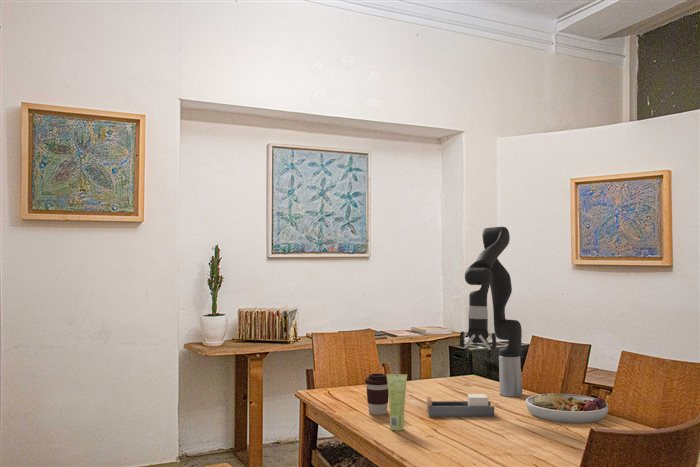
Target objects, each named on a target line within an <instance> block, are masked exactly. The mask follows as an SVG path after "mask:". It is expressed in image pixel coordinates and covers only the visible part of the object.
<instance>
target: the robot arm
mask: <svg viewBox="0 0 700 467" xmlns="http://www.w3.org/2000/svg"><path fill="white" fill-rule="evenodd" d="M510 237H511V236H510V232H509V229H508V228H507V227H506V226H493V227H485V228H484V229H483V230H482V243H483V244H482V245H483V248H484V249H483V250H482V251H481V252H480V253H479V255H478V257H477V258H476V260H475V261H474V262H473V263H472V264H470V265H469V266H468V267H467V269H466V271H465V272H464V280H465V282H466V284H468V285H470V286H480V288H479V289H478V290H473V291H470V292H469V297H468V300H469V302H468V303H469V304H468V305H469V306H468V307H469V308H468V330H467V331H463V330H462V331H460V333H459V347H462V348H463V349H464V350H463V351H464V353H463V354H464V357H465V359H469V355H470V354H469V353H470V352H469V351H470V349H469V346H470V345H471V344H472V343H473V344H483V345H484V346H485V347H486V348H487V351H486V352H487V356H486V358H487V359H486V360H491V359H492V356H493V355H492V354H493V350H495V349H496V348H497V340H498V339H499V340H502V341H508V342H507V343H508V344H507V345H506V346H504V347H501V348H499V350H498V369H499V370H498V371H499V372H498V373H499V374H498V375H499V378H498V379H499V395H501V396H504V397H510V398H512V397H514V398H515V397H523V374H522V372H521V368H522V367H521V351H522V338H523V337H522V332H523V331H522V325H521V323H520V321H518V320H516V319H506V306H507V303H508V302H509V300H510V298H511V295H512V291H513V288H512V279H511V275H510V273H509V272H508V270H507V269H506V267H505V266H504V265H503V264H502V263H501V262H500V260H499V259H498V257H499V256H500V255H501V254H502V253H503V252H504V250H505V249H507V247H508V245H509V244H510V239H511V238H510ZM489 289H490V294H491V300H492V310H493V329H494V330H493V331H494V332H492V333H491V332H489V330H488V326H489V325H488V324H489V320H488V319H489V315H488V314H489V313H488V295H489V294H488V293H489ZM465 337H468V338H469V339H468V341H466V343H465ZM488 338H490V339H491V344H492V345H491V344H490V342H489V340H488Z"/></svg>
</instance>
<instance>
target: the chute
mask: <svg viewBox="0 0 700 467" xmlns="http://www.w3.org/2000/svg"><path fill="white" fill-rule="evenodd" d="M426 412H427V416H428V418H496V417H495V406H494V405H492V403H491V401H490V400H488V406H468V400H466V401H465V400H461V401H460V400H458V401H457V400H456V401H455V400H454V401H453V400H452V401H451V400H445V401H443V400H440V401H439V400H438V401H437V400H434V401H433V399H432V397H431V396H427V397H426Z"/></svg>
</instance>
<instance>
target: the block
mask: <svg viewBox="0 0 700 467" xmlns="http://www.w3.org/2000/svg"><path fill="white" fill-rule="evenodd" d="M467 401H468V406H488V401H489V397H488V396H487V394H486V393H479V394H478V393H467Z"/></svg>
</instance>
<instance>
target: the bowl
mask: <svg viewBox="0 0 700 467" xmlns="http://www.w3.org/2000/svg"><path fill="white" fill-rule="evenodd" d="M525 405H526V408H527V410H528V411H529V412H530V413H531V414H532V415H533V416H535V417H537V418H539V419H543V420H546V421H547V420H548V421H551V422H556V423H557V422H558V423H567V424H587V423H588V424H589V423H593V422H597V421H600V420H602V419H603V418H605V417H606V416H607V414H608V412H609V404H608V403H607V401H606V400H605V399H604V398H601V397H592V396H588V395H582V394H581V395H580V394H570V393H553V392H551V393H549V392H548V393H542V394H541V393H540V394H534V395H531V396H528V397H527V398H526V399H525Z"/></svg>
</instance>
